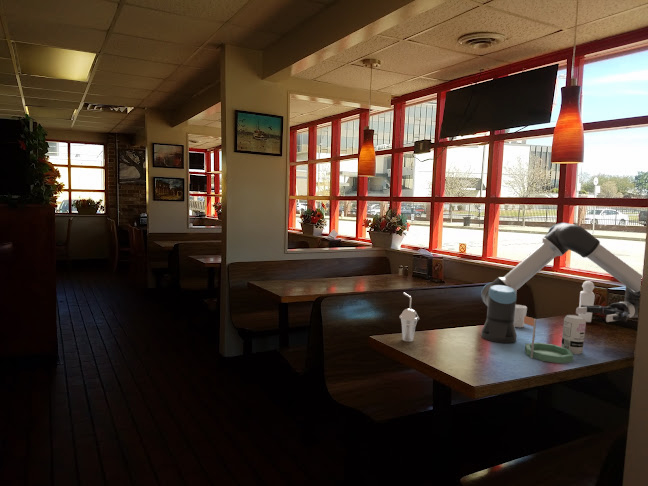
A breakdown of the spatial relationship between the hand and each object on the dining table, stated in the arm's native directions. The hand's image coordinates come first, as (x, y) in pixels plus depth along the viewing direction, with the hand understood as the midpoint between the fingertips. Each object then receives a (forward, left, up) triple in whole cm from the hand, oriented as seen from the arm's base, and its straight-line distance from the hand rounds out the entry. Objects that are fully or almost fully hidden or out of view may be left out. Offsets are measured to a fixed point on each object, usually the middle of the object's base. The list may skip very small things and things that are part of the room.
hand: (591, 314), depth 202 cm
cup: (-15, -20, -15) cm, 30 cm away
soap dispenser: (0, +59, -16) cm, 61 cm away
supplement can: (-6, -8, -16) cm, 19 cm away
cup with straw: (-70, -35, -16) cm, 80 cm away
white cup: (-31, +23, -16) cm, 41 cm away
